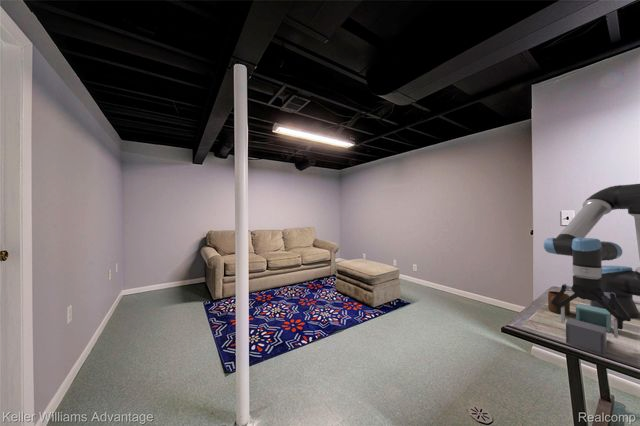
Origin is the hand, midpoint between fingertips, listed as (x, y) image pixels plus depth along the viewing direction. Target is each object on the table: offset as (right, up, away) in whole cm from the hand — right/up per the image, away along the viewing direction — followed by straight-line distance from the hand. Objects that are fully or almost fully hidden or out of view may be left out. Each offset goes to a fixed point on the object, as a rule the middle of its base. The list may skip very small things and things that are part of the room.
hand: (587, 329), depth 89 cm
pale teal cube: (+15, -4, +11) cm, 19 cm away
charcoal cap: (-5, -4, -4) cm, 8 cm away
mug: (+13, -4, +24) cm, 28 cm away
